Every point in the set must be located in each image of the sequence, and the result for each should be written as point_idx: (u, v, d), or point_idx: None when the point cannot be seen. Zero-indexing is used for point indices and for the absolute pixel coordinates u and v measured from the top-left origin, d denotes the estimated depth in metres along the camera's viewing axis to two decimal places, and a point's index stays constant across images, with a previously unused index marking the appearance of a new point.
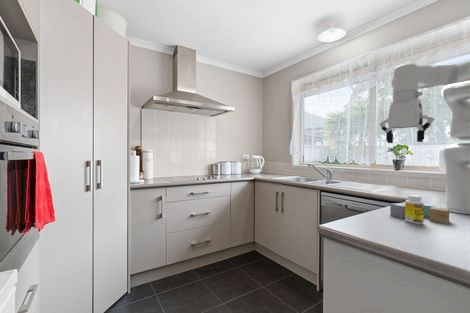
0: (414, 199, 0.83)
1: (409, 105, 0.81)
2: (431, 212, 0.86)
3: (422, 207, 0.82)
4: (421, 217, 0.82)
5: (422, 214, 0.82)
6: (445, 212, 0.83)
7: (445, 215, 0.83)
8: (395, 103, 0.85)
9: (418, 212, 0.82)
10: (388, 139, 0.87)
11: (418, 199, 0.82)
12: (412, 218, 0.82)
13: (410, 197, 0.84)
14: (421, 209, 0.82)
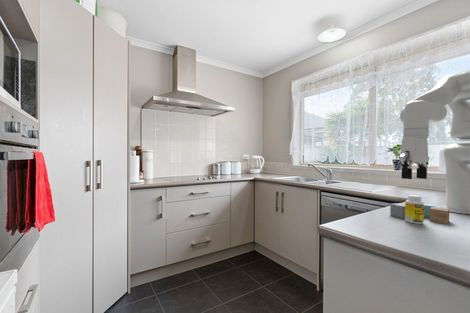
0: (414, 199, 0.83)
1: (426, 143, 0.83)
2: (431, 212, 0.86)
3: (422, 207, 0.82)
4: (421, 217, 0.82)
5: (422, 214, 0.82)
6: (445, 212, 0.83)
7: (445, 215, 0.83)
8: (419, 138, 0.81)
9: (418, 212, 0.82)
10: (411, 175, 0.81)
11: (418, 199, 0.82)
12: (412, 218, 0.82)
13: (410, 197, 0.84)
14: (421, 209, 0.82)
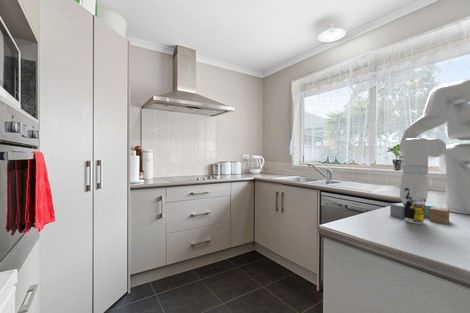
0: None
1: (425, 180, 0.83)
2: (431, 212, 0.86)
3: (422, 207, 0.82)
4: (421, 217, 0.82)
5: (422, 214, 0.82)
6: (445, 212, 0.83)
7: (445, 215, 0.83)
8: (418, 176, 0.81)
9: (418, 212, 0.82)
10: (414, 215, 0.82)
11: None
12: None
13: None
14: (421, 209, 0.82)
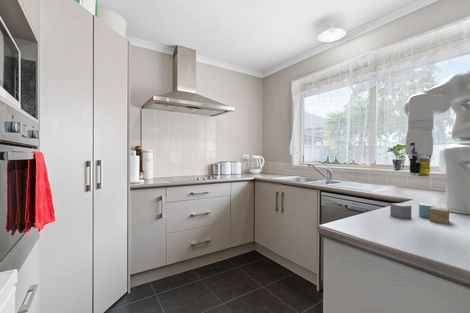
0: None
1: (430, 135, 0.84)
2: (431, 212, 0.86)
3: (428, 161, 0.83)
4: (427, 171, 0.83)
5: (428, 168, 0.83)
6: (445, 212, 0.83)
7: (445, 215, 0.83)
8: (424, 130, 0.82)
9: (424, 166, 0.83)
10: (419, 169, 0.83)
11: None
12: (418, 173, 0.84)
13: None
14: (427, 163, 0.83)
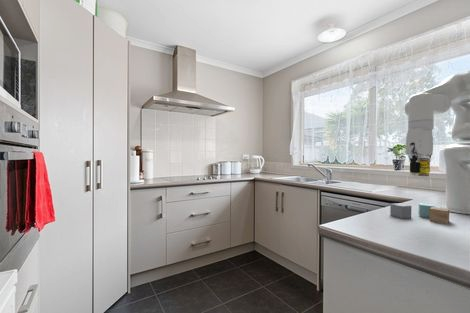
0: None
1: (431, 135, 0.84)
2: (431, 212, 0.86)
3: (428, 161, 0.83)
4: (427, 171, 0.83)
5: (428, 168, 0.83)
6: (445, 212, 0.83)
7: (445, 215, 0.83)
8: (424, 130, 0.82)
9: (424, 165, 0.83)
10: (419, 169, 0.83)
11: (424, 154, 0.83)
12: (418, 173, 0.84)
13: None
14: (427, 163, 0.83)
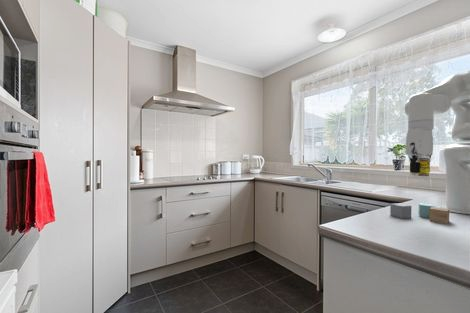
0: None
1: (431, 135, 0.84)
2: (431, 212, 0.86)
3: (428, 161, 0.83)
4: (427, 171, 0.83)
5: (428, 168, 0.83)
6: (445, 212, 0.83)
7: (445, 215, 0.83)
8: (424, 130, 0.82)
9: (424, 165, 0.83)
10: (419, 169, 0.83)
11: (424, 154, 0.83)
12: (418, 173, 0.84)
13: None
14: (427, 163, 0.83)
